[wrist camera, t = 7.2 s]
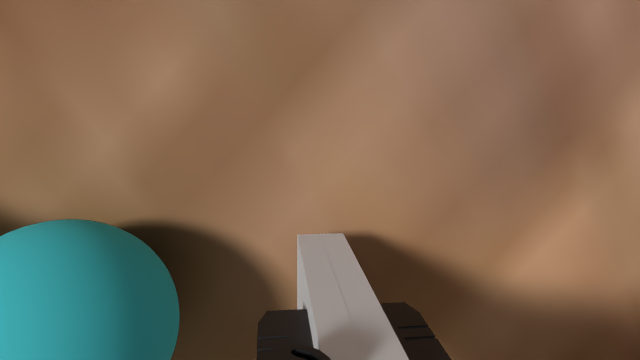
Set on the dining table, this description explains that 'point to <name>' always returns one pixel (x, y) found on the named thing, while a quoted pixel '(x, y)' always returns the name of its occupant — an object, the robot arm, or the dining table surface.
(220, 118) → the dining table surface
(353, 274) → the robot arm
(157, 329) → the ball
